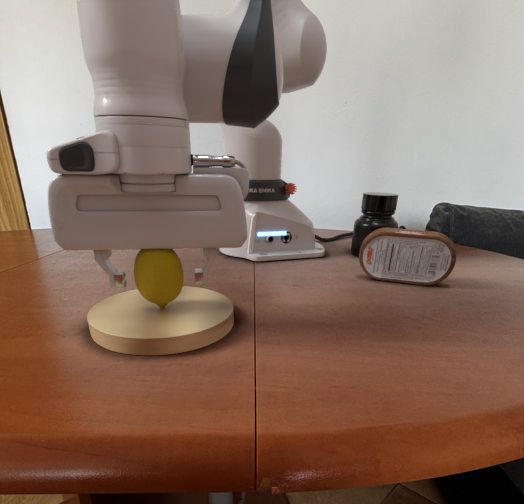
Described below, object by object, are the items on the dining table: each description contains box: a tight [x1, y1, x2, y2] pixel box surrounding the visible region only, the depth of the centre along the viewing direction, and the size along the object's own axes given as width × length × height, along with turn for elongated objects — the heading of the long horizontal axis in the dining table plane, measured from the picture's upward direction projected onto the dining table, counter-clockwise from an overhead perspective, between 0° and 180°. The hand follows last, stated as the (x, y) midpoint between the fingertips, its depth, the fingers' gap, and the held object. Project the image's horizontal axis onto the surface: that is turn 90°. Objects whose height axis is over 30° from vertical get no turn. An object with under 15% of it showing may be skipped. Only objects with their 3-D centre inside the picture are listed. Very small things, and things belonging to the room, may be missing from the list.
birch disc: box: [86, 285, 235, 357], centre depth 46 cm, size 17×17×2 cm
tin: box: [358, 227, 457, 287], centre depth 61 cm, size 15×3×8 cm, turn 71°
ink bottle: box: [350, 191, 399, 257], centre depth 78 cm, size 10×9×12 cm
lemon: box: [133, 249, 185, 308], centre depth 44 cm, size 6×6×8 cm
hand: (161, 286), depth 44 cm, fingers open, 8 cm apart
